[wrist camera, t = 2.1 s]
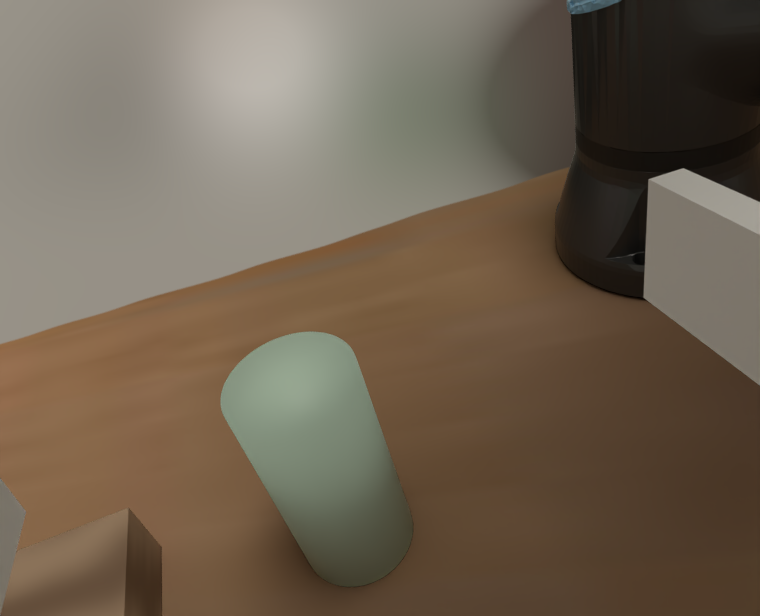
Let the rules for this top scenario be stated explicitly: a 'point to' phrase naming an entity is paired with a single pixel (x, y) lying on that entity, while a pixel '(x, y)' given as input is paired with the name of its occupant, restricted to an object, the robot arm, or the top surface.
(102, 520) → the walnut base
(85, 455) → the top surface
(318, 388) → the green post
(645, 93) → the robot arm
